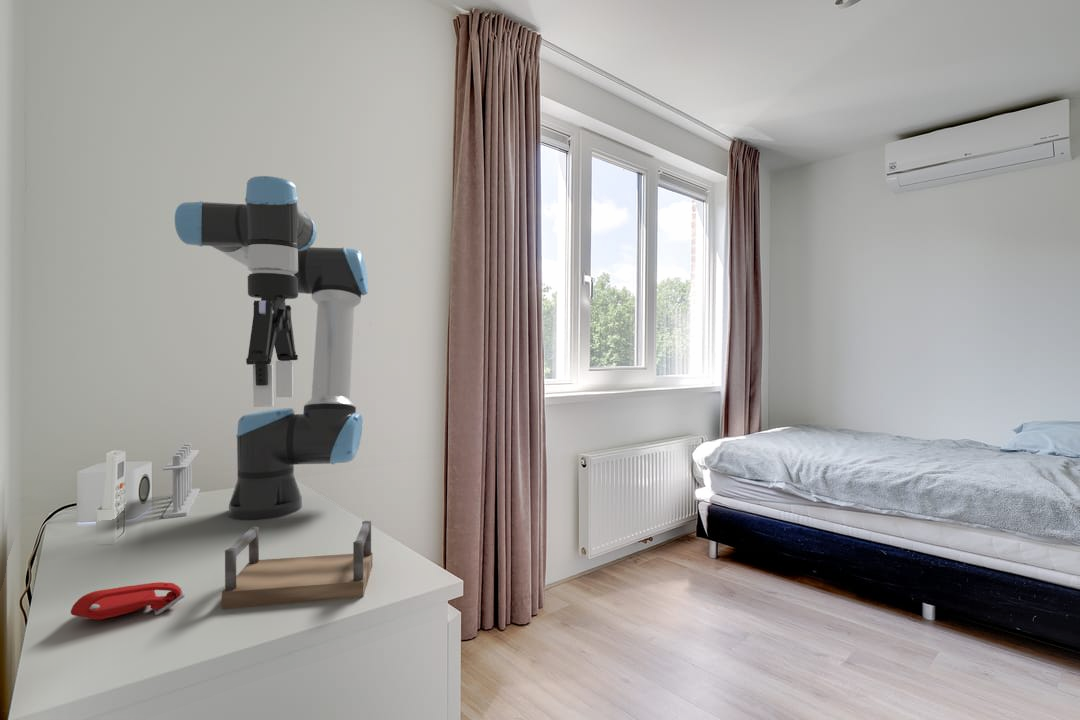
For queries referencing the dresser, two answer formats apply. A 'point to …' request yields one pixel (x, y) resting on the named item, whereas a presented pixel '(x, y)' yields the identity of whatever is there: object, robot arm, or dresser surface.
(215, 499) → the dresser surface
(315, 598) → the wooden serving tray
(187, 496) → the test tube rack
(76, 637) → the dresser surface
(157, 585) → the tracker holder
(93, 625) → the dresser surface
